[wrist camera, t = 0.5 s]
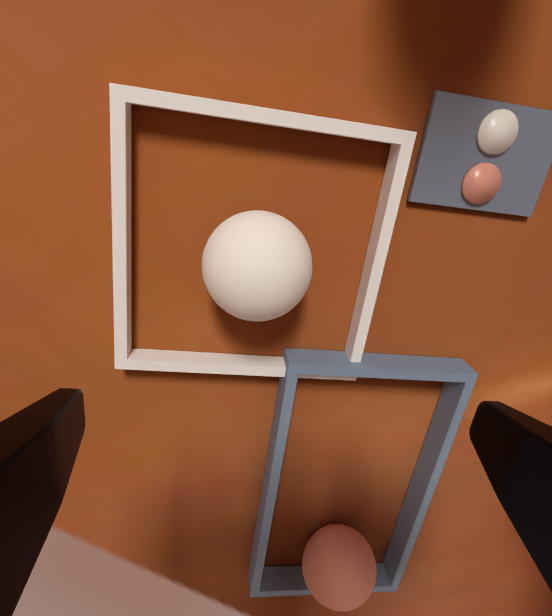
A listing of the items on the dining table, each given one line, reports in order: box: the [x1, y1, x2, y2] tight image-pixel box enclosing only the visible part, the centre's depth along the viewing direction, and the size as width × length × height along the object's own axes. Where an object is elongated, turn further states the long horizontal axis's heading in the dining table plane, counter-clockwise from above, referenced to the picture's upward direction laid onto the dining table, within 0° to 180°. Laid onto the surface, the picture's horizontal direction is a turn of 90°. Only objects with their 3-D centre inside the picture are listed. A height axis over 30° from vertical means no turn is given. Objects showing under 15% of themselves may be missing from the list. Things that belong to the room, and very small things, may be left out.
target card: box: [407, 90, 552, 217], centre depth 20 cm, size 7×5×1 cm
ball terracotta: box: [302, 524, 377, 612], centre depth 27 cm, size 5×5×5 cm
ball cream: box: [202, 210, 312, 321], centre depth 18 cm, size 5×5×5 cm
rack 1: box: [109, 83, 417, 381], centre depth 20 cm, size 13×13×1 cm
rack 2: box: [248, 348, 478, 598], centre depth 27 cm, size 11×19×2 cm, turn 172°
